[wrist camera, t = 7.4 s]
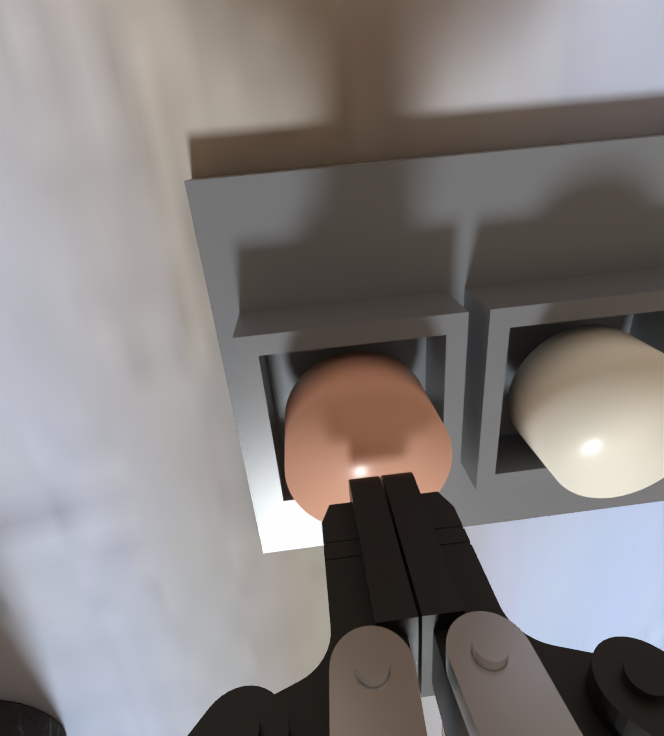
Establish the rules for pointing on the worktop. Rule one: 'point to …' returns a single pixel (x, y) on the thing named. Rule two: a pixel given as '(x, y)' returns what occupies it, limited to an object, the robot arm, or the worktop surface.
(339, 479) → the terracotta button
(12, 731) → the travel mug
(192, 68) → the worktop surface
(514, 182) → the button panel
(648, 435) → the cream button
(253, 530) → the worktop surface
